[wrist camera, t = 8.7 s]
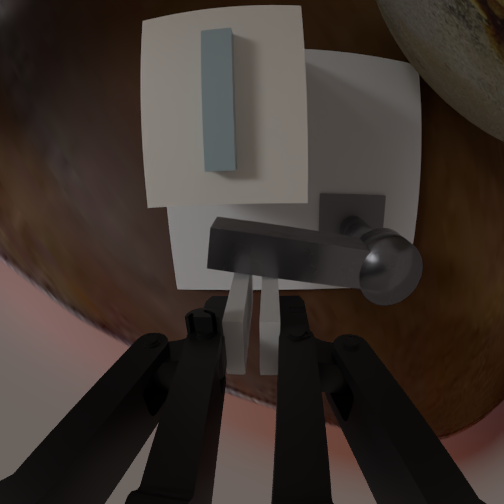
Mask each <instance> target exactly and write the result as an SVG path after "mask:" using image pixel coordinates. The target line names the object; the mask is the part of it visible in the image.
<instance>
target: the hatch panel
mask: <svg viewBox="0 0 504 504" xmlns="http://www.w3.org/2000/svg"><path fill="white" fill-rule="evenodd" d="M304 52H305V69H306V92H307V126H308V203H260V204H218V205H192V206H171V207H167V212H168V221H169V230H170V239H171V247H172V255H173V262H174V269H175V276H176V283H177V289H192V290H230V288H231V284H232V281H233V277H234V272H227V271H220V270H213V269H207V260H208V248H209V236H210V227H211V226H212V224H213V223H214V221H215V219H216V218H217V217H225V218H233V219H240V220H247V221H254V222H262V223H269V224H276V225H282V226H289V227H296V228H302V229H309V230H315V231H322V232H328V233H334V234H340V226H341V223H342V222H343V221H344V220H345V219H346V218H347V217H350V216H358V217H360V218H361V219H363V220H364V221H365V222H366V223H367V224H368V225H369V226H370V227H372V228H373V229H375V228H390V229H392V230H395V231H396V232H398V233H399V234H400V235H402V236H403V237H404V238H405V239H407V240H408V241H409V242H410V243H412V244H413V241H414V234H415V226H416V218H417V209H418V198H419V186H420V170H421V96H420V81H419V73H418V72H417V71H416V70H415V69H414V67H413V66H412V65H411V63H406V62H402V61H397V60H392V59H387V58H381V57H375V56H369V55H362V54H355V53H347V52H338V51H327V50H313V49H304ZM340 235H341V234H340ZM252 278H253V290H261V288H262V276H255V275H252ZM278 288H279V290H290V289H334V288H348V287H340V286H332V285H324V284H316V283H308V282H300V281H293V280H285V279H278Z"/></svg>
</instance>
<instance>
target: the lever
mask: <svg viewBox="0 0 504 504" xmlns="http://www.w3.org/2000/svg"><path fill="white" fill-rule="evenodd" d="M340 234H341V235H340ZM340 234H334V233H328V232H322V231H315V230H309V229H302V228H296V227H289V226H282V225H276V224H269V223H262V222H254V221H247V220H240V219H233V218H225V217H217V218H216V219H215V221H214V223H213V224H212V226H211V227H210V236H209V248H208V260H207V269H213V270H220V271H227V272H234V273H241V274H248V275H255V276H263V277H270V278H277V279H285V280H293V281H300V282H308V283H316V284H324V285H332V286H340V287H348V288H357V289H360V290H361V291H362V293H363V295H364V296H365V297H366V298H367V299H368V300H369V301H370V302H372V303H374V304H377V305H392V304H395V303H398V302H400V301H402V300H404V299H405V298H406V297H408V296H409V295H410V294H411V293H412V292H413V291H414V289H415V288H416V286H417V285H418V283H419V281H420V278H421V275H422V270H423V262H422V257H421V255H420V253H419V251H418V249H417V248H416V247H415V246H414V245H413V244H412V243H410V242H409V241H408V240H407V239H405V238H404V237H403V236H402V235H400V234H399V233H398V232H396V231H395V230H392V229H390V228H375V229H373V228H372V227H370V226H369V225H368V224H367V223H366V222H365V221H364V220H363V219H361V218H360V217H358V216H350V217H347V218H346V219H345V220H344V221H343V222H342V223H341V226H340Z"/></svg>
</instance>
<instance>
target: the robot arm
mask: <svg viewBox="0 0 504 504" xmlns="http://www.w3.org/2000/svg"><path fill="white" fill-rule="evenodd" d="M252 304H253V278H252V275H248V274H241V273H234V277H233V281H232V284H231V288H230V292H229V296H212V297H211V298H210V299H208V300H207V301H206V303H205V306H204V308H199V309H195V310H192V311H190V312H189V313H187V314H186V316H185V320H186V327H187V333H188V335H187V338H185V339H182V340H178V341H170V342H168V339H167V337H166V336H165V335H163V334H160V333H148V334H145V335H143V336H141V337H140V338H138V339H137V340H136V341H135V342H134V343H133V345H132V346H131V347H130V348H129V349H128V350H127V351H126V352H125V353H124V354H123V355H122V356H121V357H120V358H119V360H117V361H116V363H114V365H113V366H112V367H111V368H110V369H109V370H108V371H107V372H106V373H105V374H104V375H103V376H102V377H101V378H100V379H99V380H98V381H97V382H96V384H95V385H94V386H93V387H92V388H91V389H90V390H89V391H88V392H87V393H86V394H85V395H84V396H83V397H82V399H81V400H80V401H79V402H78V403H77V404H76V405H75V406H74V407H73V408H72V409H71V410H70V411H69V413H68V414H67V415H66V416H65V417H64V418H63V419H62V420H61V421H60V422H59V424H58V425H57V426H56V427H55V428H54V429H53V430H52V431H51V432H50V433H49V435H48V436H47V437H46V438H45V439H44V440H43V441H42V442H41V444H40V445H39V446H38V447H37V448H36V449H35V450H34V451H33V452H32V453H31V455H30V456H29V457H28V458H27V459H26V460H25V461H24V462H23V464H22V465H21V466H20V467H19V468H18V469H17V471H16V472H15V473H14V474H13V475H11V476H9V477H7V478H5V479H3V480H1V481H0V504H105V502H106V501H107V499H108V498H109V496H110V495H111V493H112V492H113V490H114V489H115V487H116V486H117V484H118V483H119V482H120V480H121V479H122V477H123V476H124V474H125V472H126V471H127V469H128V468H129V467H130V465H131V463H132V462H133V460H134V459H135V457H136V456H137V454H138V453H139V451H140V450H141V448H142V447H143V445H144V444H145V442H146V441H147V439H148V438H149V436H150V435H151V433H152V432H153V430H154V429H155V427H156V426H157V424H158V423H159V424H158V427H157V430H156V433H155V437H154V440H153V443H152V447H151V450H150V453H149V457H148V461H147V464H146V467H145V471H144V474H143V477H142V481H141V484H140V487H139V488H138V490H135V491H132V492H131V493H130V494H129V495H128V497H127V499H126V502H125V504H212V495H213V486H214V478H215V469H216V461H217V452H218V444H219V435H220V427H221V418H222V411H223V402H224V395H225V387H226V378H225V372H226V368H227V374H242V375H245V371H246V362H247V352H248V343H249V333H250V324H251V314H252ZM260 375H278V381H277V408H276V433H275V452H274V453H275V454H274V471H273V487H272V502H271V504H334V503H333V502H332V498H331V497H332V496H331V483H330V470H329V458H328V447H327V438H326V428H325V418H324V409H323V401H322V393H321V391H322V392H325V395H326V398H327V400H328V402H329V404H330V406H331V408H332V410H333V412H334V414H335V416H336V419H337V421H338V423H339V425H340V427H341V429H342V431H343V433H344V435H345V437H346V439H347V441H348V444H349V446H350V448H351V450H352V452H353V454H354V456H355V458H356V460H357V462H358V464H359V467H360V469H361V470H362V473H363V475H364V477H365V479H366V481H367V483H368V486H369V488H370V490H371V492H372V494H373V496H374V498H375V500H376V502H377V504H486V503H485V502H483V501H482V500H480V499H479V498H478V496H477V495H476V493H475V492H474V490H473V489H472V487H471V486H470V484H469V483H468V481H467V480H466V478H465V477H464V475H463V474H462V472H461V471H460V469H459V468H458V467H457V465H456V463H455V462H454V461H453V459H452V458H451V456H450V455H449V453H448V452H447V450H446V449H445V447H444V446H443V445H442V443H441V442H440V440H439V439H438V438H437V436H436V435H435V433H434V432H433V430H432V429H431V428H430V426H429V425H428V423H427V422H426V421H425V419H424V418H423V417H422V415H421V414H420V412H419V411H418V410H417V408H416V407H415V406H414V404H413V403H412V401H411V400H410V399H409V397H408V396H407V395H406V393H405V392H404V391H403V389H402V388H401V387H400V385H399V384H398V383H397V381H396V380H395V379H394V377H393V376H392V375H391V373H390V372H389V371H388V369H387V368H386V367H385V365H384V364H383V363H382V361H381V360H380V359H379V358H378V356H377V355H376V354H375V352H374V351H373V350H372V348H371V347H370V346H369V345H368V343H367V342H366V341H365V340H364V339H363V338H361V337H359V336H357V335H351V334H349V335H342V336H339V337H337V338H336V339H335V340H334V343H331V342H325V341H321V340H319V339H317V338H315V337H314V335H313V333H312V332H311V331H310V329H309V324H308V319H307V314H306V309H305V304H304V301H303V300H302V299H301V298H300V297H299V296H279V288H278V279H277V278H270V277H263V276H262V288H261V306H260Z"/></svg>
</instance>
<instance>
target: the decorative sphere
mask: <svg viewBox="0 0 504 504" xmlns="http://www.w3.org/2000/svg"><path fill="white" fill-rule="evenodd" d="M376 2H377V5H378V8H379V10H380V12H381V15H382V17H383V19H384V21H385V23H386V25H387V27H388V29H389V31H390V33H391V34H392V36H393V38H394V40H395V42H396V43H397V45H398V46H399V48H400V49H401V51H402V52H403V54H404V55H405V57H406V58H407V59H408V61H409V62H410V63H411V65H412V66H413V67H414V69H415V70H416V71H417V72H418V73H419V75H420V76H421V77H422V78H423V79H424V80H425V82H426V83H427V84H428V85H429V86H430V87H431V88H432V89H433V90H434V91H435V92H436V93H437V94H438V95H439V96H440V97H441V98H442V99H443V100H444V101H445V102H446V103H447V104H449V105H450V106H451V107H452V108H453V109H454V110H456V111H457V112H458V113H459V114H460V115H462V116H463V117H464V118H466V119H467V120H468V121H470V122H471V123H473V124H474V125H476V126H477V127H479V128H480V129H482V130H483V131H485V132H486V133H488V134H490V135H492V136H493V137H495V138H497V139H499V140H501V141H503V142H504V0H376Z"/></svg>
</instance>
